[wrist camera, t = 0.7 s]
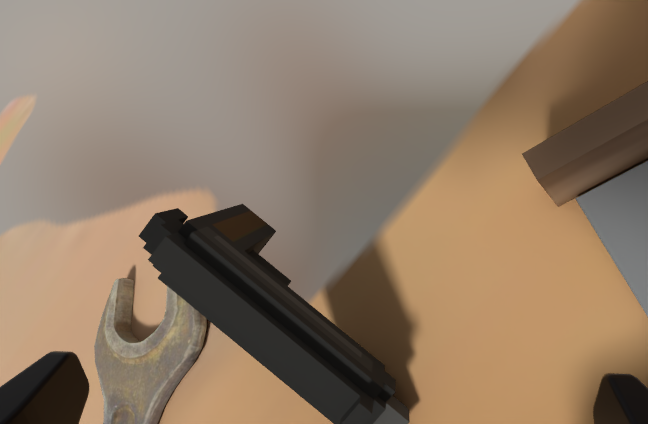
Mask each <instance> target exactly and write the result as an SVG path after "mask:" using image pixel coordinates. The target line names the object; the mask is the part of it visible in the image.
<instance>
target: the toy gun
mask: <svg viewBox="0 0 648 424" xmlns="http://www.w3.org/2000/svg"><path fill="white" fill-rule="evenodd" d="M187 218H188V216H187V215H186V214H184V213H183V212H182V211H181V210H179V209H178V208H177V209H173V210H168V211H164V212H160V213H155V215H154V216H153V217H152V219H151V220H150V221H149V223H148V224H147V225H146V227H145V228H144V229H143V231H142V232H141V233H140V235H139V237H140V238H141V239H143V240H144V241H145V242H146V245H145V246H144V247H143V248H144V249H145V250H147V251H148V252H149V253H150V254H151V257H150V258H149V259H148V260H149V261H150V262H151V263H152V264H154V265H153V266H154V267H155V268H156V269H157V270H158V271H160V272H161V274H160V276H159V277H158V279H159V280H161V281H162V282H163V283H164V284H165V285H167V286H168V287H169V288H170V289H171V290H173V291H174V292H175V293H176V294H178V295H179V296H180V297H181V298H182V299H184V300H185V301H186V302H187V303H188V304H190V305H191V306H192V307H193V308H194V309H196V310H197V311H198V312H199V313H201V314H202V315H203V316H204V317H205V318H207V319H208V320H209V321H210V322H211V323H213V324H214V325H215V326H216V327H217V328H219V329H220V330H221V331H222V332H224V333H225V334H226V335H227V336H228V337H230V338H231V339H232V340H233V341H234V342H236V343H237V344H238V345H239V346H240V347H242V348H243V349H244V350H245V351H247V352H248V353H249V354H250V355H251V356H253V357H254V358H255V359H256V360H257V361H259V362H260V363H261V364H262V365H263V366H265V367H266V368H267V369H268V370H270V371H271V372H272V373H273V374H274V375H276V376H277V377H278V378H279V379H280V380H282V381H283V382H284V383H285V384H286V385H288V386H289V387H290V388H291V389H293V390H294V391H295V392H296V393H297V394H299V395H300V396H301V397H302V398H303V399H305V400H306V401H307V402H308V403H309V404H311V405H312V406H313V407H314V408H316V409H317V410H318V411H319V412H320V413H322V414H323V415H324V416H325V417H326V418H328V419H329V420H330V421H331V422H332V423H334V424H408V423H409V410H408V409H407V407H406V406H405V405H404V404H402V403H401V402H400V401H399V400H397V399H396V398H395V397H394V396H393V394H394V393H395V379H394V378H392V377H391V376H390V375H389V374H387V373H386V372H385V371H384V365H383V364H382V363H381V362H380V361H378V360H377V359H376V358H375V357H373V356H372V355H371V354H370V353H369V352H367V351H366V350H365V349H364V348H362V347H361V346H360V345H359V344H358V343H356V342H355V341H354V340H353V339H351V338H350V337H349V336H348V335H347V334H345V333H344V332H343V331H342V330H340V329H339V328H338V327H337V326H335V325H334V324H333V323H332V322H331V321H329V320H328V319H327V318H326V317H324V316H323V315H322V314H321V313H320V312H318V311H317V310H316V309H315V308H313V307H312V306H311V305H310V304H309V303H307V302H306V301H305V300H304V299H302V298H301V297H300V296H299V295H298V294H296V293H295V292H294V291H293V290H291V289H290V288H289V287H288V285H289V283H290V282H291V280H289V279H288V278H287V277H286V276H284V275H283V274H282V273H280V272H279V271H278V270H277V269H276V268H275V267H273V266H272V265H271V264H270V263H268V262H267V261H266V260H265V259H264V258H262V257H261V256H259V252H260V251H261V250H262V249H263V247H264V246H265V245H266V244H267V242H268V241H269V240H270V238H271V237H272V236H273V235H274V233H275V232H276V231H275V230H274V229H273V228H272V227H271V226H269V225H268V224H267V223H266V222H264V221H263V220H262V219H261V218H259V217H258V216H257V215H256V214H254V213H253V212H252V211H251V210H250V209H248V208H247V207H246V206H245V205H243V204H241V205H237V206H234V207H231V208H227V209H224V210H221V211H217V212H214V213H211V214H207V215H204V216H201V217H197V218H194V219H191V220H187V221H186V222H185V220H186V219H187ZM184 222H185V223H184ZM183 223H184V224H183Z"/></svg>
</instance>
